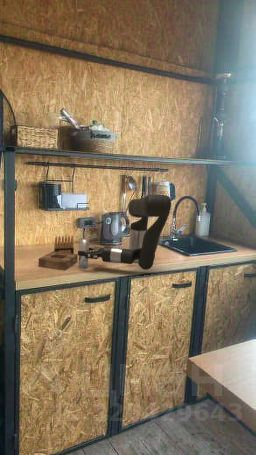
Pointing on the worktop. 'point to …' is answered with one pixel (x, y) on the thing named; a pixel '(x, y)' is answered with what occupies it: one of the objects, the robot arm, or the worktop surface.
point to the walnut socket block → (58, 260)
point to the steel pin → (85, 247)
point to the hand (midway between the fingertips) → (81, 251)
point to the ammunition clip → (64, 245)
